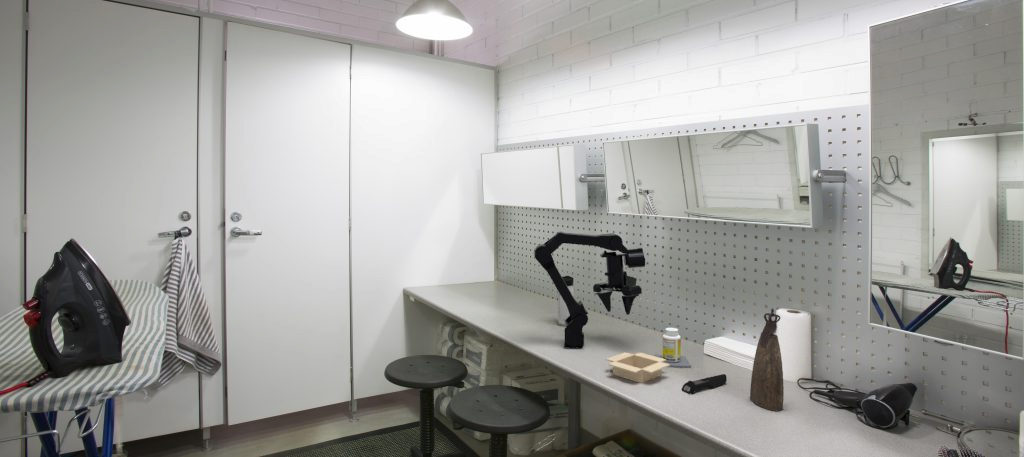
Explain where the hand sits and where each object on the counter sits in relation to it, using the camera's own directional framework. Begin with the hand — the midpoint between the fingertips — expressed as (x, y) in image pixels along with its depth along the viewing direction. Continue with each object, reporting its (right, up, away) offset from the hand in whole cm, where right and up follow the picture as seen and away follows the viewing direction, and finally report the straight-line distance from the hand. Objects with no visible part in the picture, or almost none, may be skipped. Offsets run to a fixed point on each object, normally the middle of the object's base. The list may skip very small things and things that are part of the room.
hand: (618, 313), depth 186 cm
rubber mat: (+14, -13, -16) cm, 25 cm away
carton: (0, -14, -27) cm, 31 cm away
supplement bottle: (+14, -13, -16) cm, 25 cm away
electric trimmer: (+16, -15, -38) cm, 44 cm away
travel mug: (-15, -10, +32) cm, 37 cm away
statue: (+28, -16, -50) cm, 59 cm away
